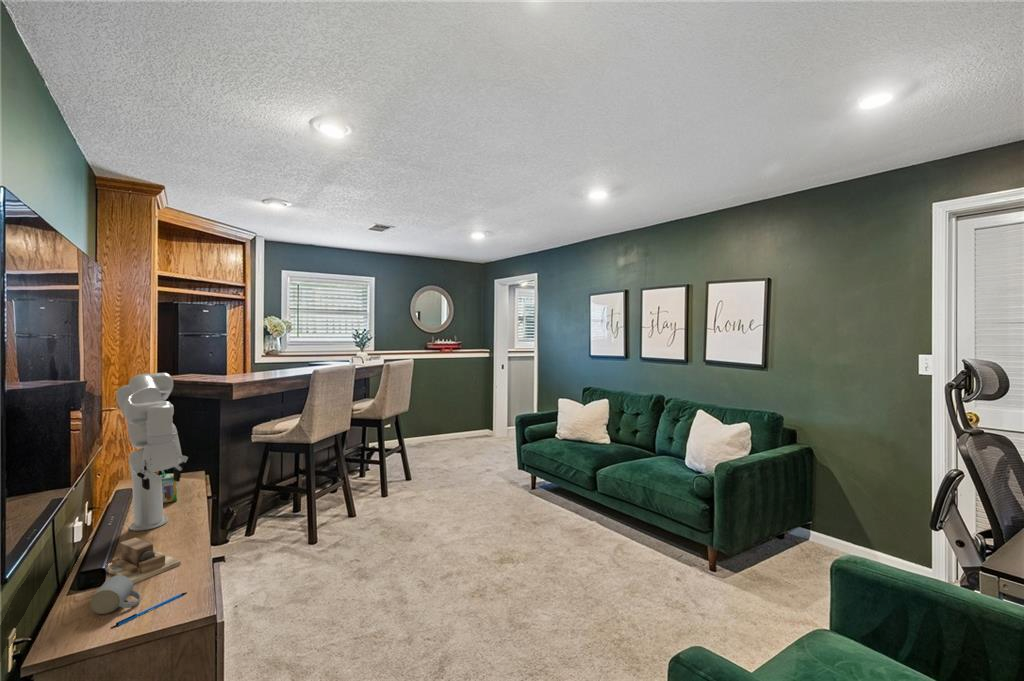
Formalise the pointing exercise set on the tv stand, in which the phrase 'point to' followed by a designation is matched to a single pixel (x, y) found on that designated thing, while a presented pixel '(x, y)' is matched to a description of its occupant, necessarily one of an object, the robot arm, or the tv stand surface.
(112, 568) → the jig
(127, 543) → the brown wooden block
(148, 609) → the pen
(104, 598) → the ceramic mug
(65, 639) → the tv stand surface
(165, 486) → the chalk box
